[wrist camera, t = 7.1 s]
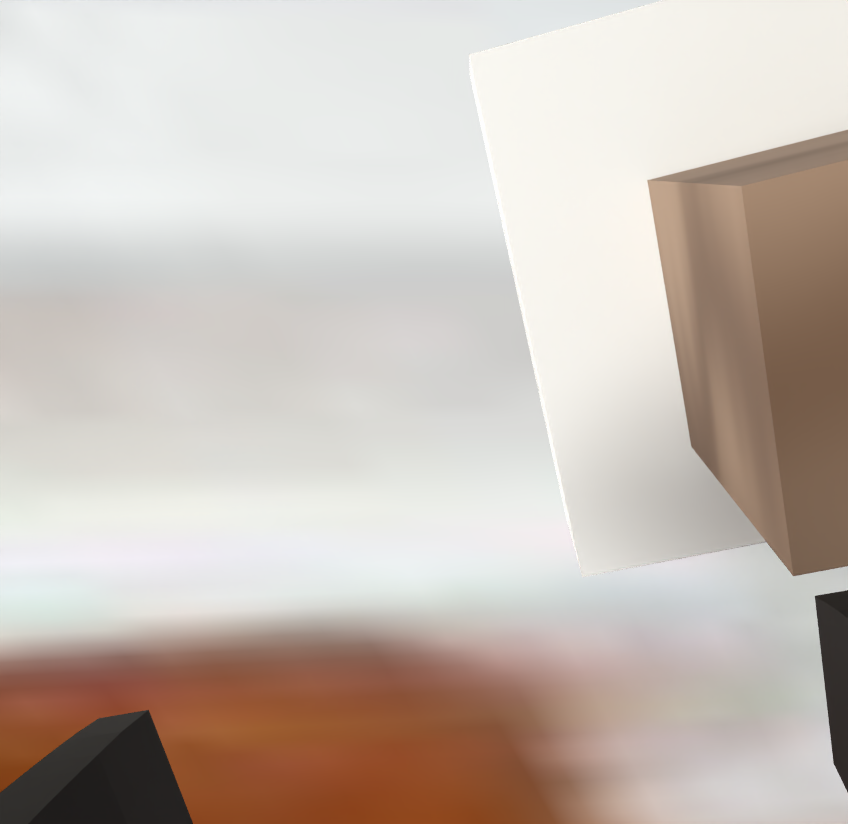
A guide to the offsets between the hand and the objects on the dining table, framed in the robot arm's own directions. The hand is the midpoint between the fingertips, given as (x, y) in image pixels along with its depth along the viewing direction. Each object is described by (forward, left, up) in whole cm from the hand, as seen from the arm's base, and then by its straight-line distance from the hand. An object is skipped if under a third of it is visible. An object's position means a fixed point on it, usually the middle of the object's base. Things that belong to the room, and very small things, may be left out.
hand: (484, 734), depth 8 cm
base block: (+2, -7, -10) cm, 12 cm away
